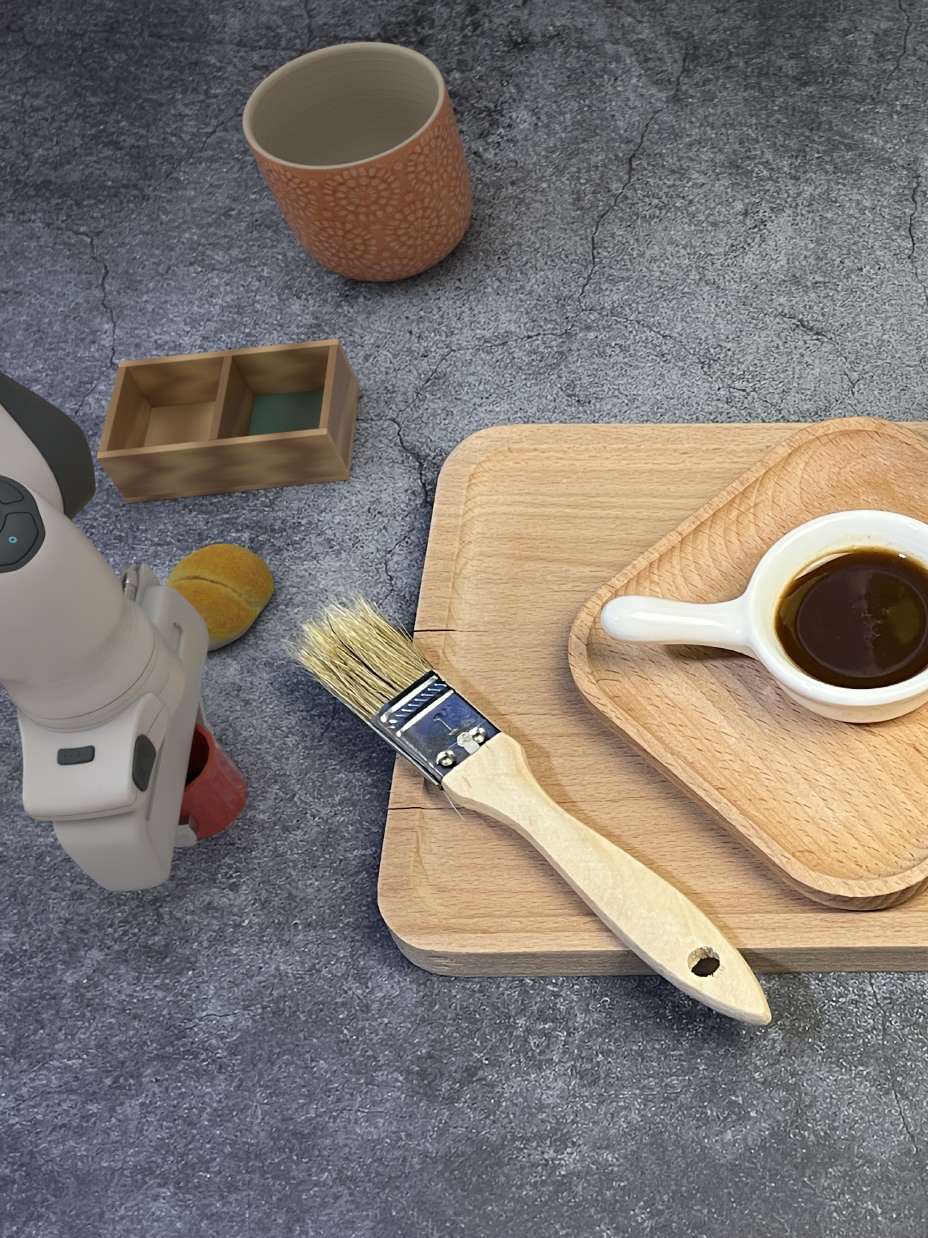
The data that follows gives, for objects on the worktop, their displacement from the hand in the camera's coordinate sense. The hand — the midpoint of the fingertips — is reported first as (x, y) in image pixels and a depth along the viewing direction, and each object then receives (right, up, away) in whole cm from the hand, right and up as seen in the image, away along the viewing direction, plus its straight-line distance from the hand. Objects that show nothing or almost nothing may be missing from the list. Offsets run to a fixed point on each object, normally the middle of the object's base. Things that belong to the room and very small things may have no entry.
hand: (194, 789), depth 104 cm
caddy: (-5, +27, +22) cm, 35 cm away
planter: (+3, +47, +36) cm, 59 cm away
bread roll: (-4, +13, +13) cm, 18 cm away
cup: (0, -2, +3) cm, 3 cm away
